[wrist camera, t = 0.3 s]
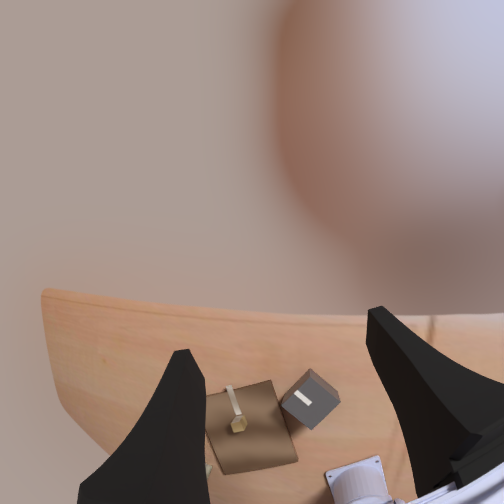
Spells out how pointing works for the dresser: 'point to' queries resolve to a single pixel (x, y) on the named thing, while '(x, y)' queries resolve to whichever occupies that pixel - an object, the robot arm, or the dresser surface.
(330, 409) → the mini file drawer
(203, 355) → the dresser surface
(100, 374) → the dresser surface
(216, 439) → the board
